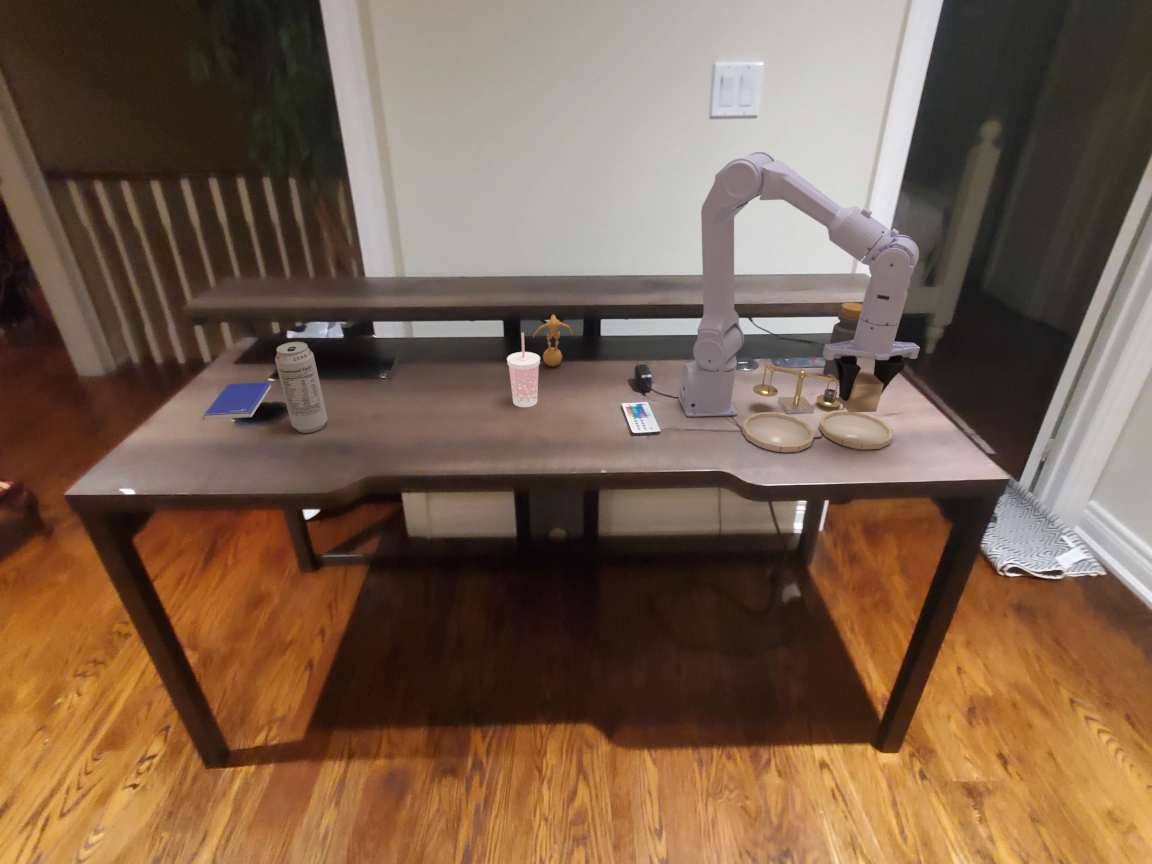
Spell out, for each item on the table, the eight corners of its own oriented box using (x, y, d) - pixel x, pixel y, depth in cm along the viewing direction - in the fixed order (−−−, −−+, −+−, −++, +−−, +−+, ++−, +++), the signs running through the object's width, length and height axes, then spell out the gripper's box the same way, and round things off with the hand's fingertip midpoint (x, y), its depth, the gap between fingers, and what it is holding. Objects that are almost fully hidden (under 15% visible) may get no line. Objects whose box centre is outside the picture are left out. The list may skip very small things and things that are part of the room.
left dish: (754, 454, 106) (755, 447, 106) (734, 419, 116) (735, 413, 116) (823, 452, 107) (824, 445, 106) (797, 417, 117) (798, 411, 117)
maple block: (849, 412, 104) (856, 384, 101) (837, 399, 107) (844, 372, 105) (876, 411, 104) (883, 384, 101) (863, 398, 108) (870, 372, 105)
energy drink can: (331, 416, 116) (314, 339, 109) (325, 432, 111) (307, 353, 103) (296, 418, 115) (276, 341, 108) (289, 435, 110) (268, 355, 103)
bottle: (854, 382, 130) (873, 312, 122) (824, 380, 131) (840, 310, 123) (850, 370, 135) (867, 302, 127) (821, 368, 136) (836, 300, 128)
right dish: (836, 451, 107) (837, 445, 107) (809, 417, 117) (810, 411, 117) (903, 449, 108) (905, 442, 107) (871, 415, 118) (872, 409, 117)
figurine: (570, 360, 138) (570, 307, 132) (574, 372, 133) (575, 317, 127) (532, 362, 137) (530, 309, 131) (535, 374, 132) (533, 319, 126)
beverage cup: (547, 401, 122) (546, 332, 115) (524, 412, 118) (521, 342, 111) (525, 391, 125) (523, 323, 118) (502, 401, 122) (498, 332, 114)
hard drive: (250, 411, 115) (270, 381, 126) (202, 414, 114) (226, 383, 125) (252, 419, 116) (272, 389, 127) (204, 422, 115) (228, 391, 126)
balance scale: (755, 414, 118) (762, 372, 114) (746, 401, 122) (753, 360, 118) (844, 411, 119) (855, 369, 115) (833, 399, 123) (843, 358, 119)
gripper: (844, 329, 94) (825, 410, 101) (939, 328, 95) (913, 408, 102) (825, 312, 100) (808, 390, 107) (914, 311, 101) (892, 388, 108)
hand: (858, 397), depth 105 cm, fingers closed on maple block, 4 cm apart
